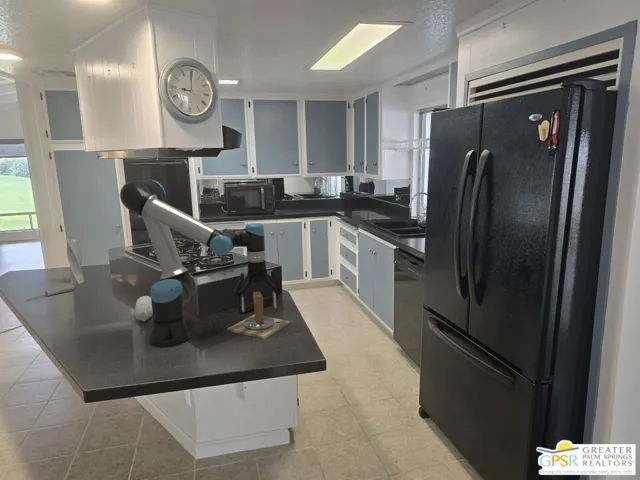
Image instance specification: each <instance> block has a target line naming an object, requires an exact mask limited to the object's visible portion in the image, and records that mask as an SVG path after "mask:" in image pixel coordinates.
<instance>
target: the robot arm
mask: <svg viewBox="0 0 640 480" xmlns="http://www.w3.org/2000/svg"><path fill="white" fill-rule="evenodd" d="M166 196H167V194H166V190H165V189H164V186H163V185H162V183H160V182H158V181H157V180H154V179H147V178H145V179H138V180H131V181H128V182H126V183H125V184H124V185H123V186H122V187H121V189H120V193H119V197H120V201H121V203H122V205H123V207H125V208H126V209H128V210H129V211H131V212H132V213H134V214H135V215H136V214H137V217H139V218H141V219H142V220H143V223H144V225H145V228H146V231H147V234H148V236H149V239H150V241H151V245H152V247H153V250H154V253H155V256H156V259H157V261H158V264H159V267H160V270H161V272H162V274H161V275H160V278H159V279H160V280H161V281H157V282H155V283H154V284H152V285H151V288H150V295H149V297H151V303H152V313H153V314H152V321H153V322H152V323H153V325H152V329H151V334H150V336H149V343H150V344H151V345H152V346H154V347H159V348H166V347H167V348H168V347H169V348H170V347H175V346H179V345H182V344H185V343H186V342H187V341H189V340H190V338H191V333H190V329H189V327H188V325H187V323H186V321H185V314H184V313H185V312H184V306H185V305H186V304H187V303H188V302H190V301H191V300H192V299H193V298H194V296H195V294H196V292H197V290H198V284H197V281H196V278H195V277H194V276H193V275H191V274H190V271H189V269H188V268H187V267H185V266H183V263H182V261H181V257H180V254H179V252H178V249H177V247H176V243H175V240H174V237H173V234H172V231H171V229H172V230H173V231H176V232H178V233H180V234H182V235H183V236H186V237H188V238H190V239H191V240H194V241H196V242H197V243H199V244H202V245H203V246H205V247H207V248H209V249H210V250H211V251H212V253H213V254H214V255H216V256H224V255H228V254H229V253H230V252H231V251H232V250H233V249H234V248H246V260H247V263H246V264H247V272H246V273H244V272H240V274H239V275H240V277H239V280H238V282H237V284H236V287H235V289H234V291H233V295H234V296H235V297H238V305H241V306H242V312H244V305H245V300H244V293H245V292H246V291H247V289H248V288H249V287H250V286H251V285H252V283H253V284H256V283H262V282H264V283H266V285H268V287H269V288H270V289H272V299H273V304H272V306H273V308H274V309H277V301H278V300H279V293H280V292H283V288H282V287H281V285H280V283H279V281H278V279H277V278H276V276H275V272H274V270H273V269H270V270H267V265H266V264H267V263H266V248H265V247H266V246H265V245H266V244H265V242H266V241H265V230H264V225H263V224H262V223H258V222H257V223H255V222H253V223H250V222H249V223H247V224H245V228H232V229H231V228H222V229H216V228H215V227H213V226H211V225H209V224H207V223H206V222H203V221H201V220H200V219H198V218H195V217H194V216H191V215H190V214H187V212H184V211H182V210H180V209H178V208H176V207H174V206H172V205H170V204H169V203H167V202H165V200H166ZM267 275H268V276H269V277H271V278H272V280H273V281H274V283H275V285H276V287H277V288H276V287H275V286H274V285H273V283H271V282H270V281H269V279H267ZM246 277H248V279H247V281H246V283H245V284H244V286H242V285H243V282H244V281H245V279H246ZM241 286H242V288H241ZM244 313H245V312H244Z"/></svg>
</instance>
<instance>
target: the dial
mask: <svg viewBox="0 0 640 480" xmlns="http://www.w3.org/2000/svg"><path fill="white" fill-rule="evenodd" d="M252 296H253V297H252V298H253V302H254V309H253V315H254V317H251V316H250V317H251V318H249V317H247V318H248V319H247V318H245V319H246V320H245V319H244V320H245V321H244V327H245V328H247V329H251V330H262V329H267V328H270V327H272V326H273V325H274V319H273V318H274V317H270V316H266V315H265V314H264V307H263V298H264V296H263V295H262V293H261V291H254V292H252Z"/></svg>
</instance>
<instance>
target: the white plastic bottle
mask: <svg viewBox="0 0 640 480" xmlns="http://www.w3.org/2000/svg"><path fill="white" fill-rule="evenodd" d="M133 313H134V316H135V318H136V319H137V320H138V321H141V322H143V323H146V321H147V320H150V318H151V317H153V313H152V303H151V296H150V295H143V296H140V297H138V299H137V300H136V302H135V307H134V310H133Z"/></svg>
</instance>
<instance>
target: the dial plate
mask: <svg viewBox="0 0 640 480" xmlns="http://www.w3.org/2000/svg"><path fill="white" fill-rule="evenodd" d="M251 317H254V314H252V315H251V316H249V317H247V318H245V319H243V320H241V321H239V322H237V323H236V324H234V325H232V326H229V327H227V329H226V331H228V332H231V333H236V334H240V335H243V336H244V335H245V336H249V337H253V338H257V339H262V340H265V339H267V338H268V337H270V336H271V335H273V334H275V333H277V332H278V331H280V330H281V329H283V328H285V327H286V326H288V325H289V324H290V323H291V322H290V320H286V319H280V318H277V317H272V318H273V319H274V325H273V326H272V327H270V328H267V329H262V330H251V329H247V328H245V327H244V321H245V320H246V319H248V318H251Z"/></svg>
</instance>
